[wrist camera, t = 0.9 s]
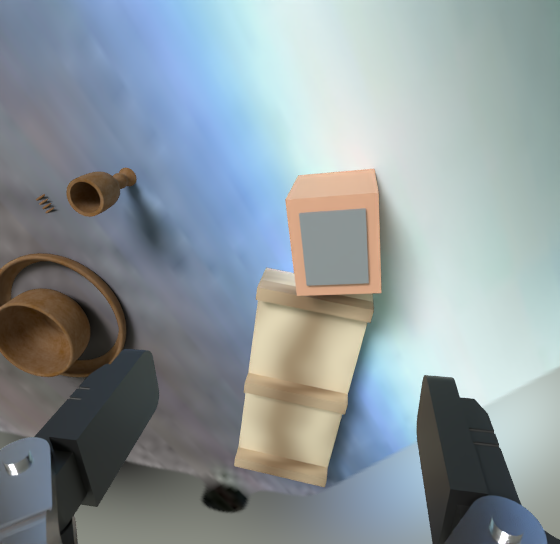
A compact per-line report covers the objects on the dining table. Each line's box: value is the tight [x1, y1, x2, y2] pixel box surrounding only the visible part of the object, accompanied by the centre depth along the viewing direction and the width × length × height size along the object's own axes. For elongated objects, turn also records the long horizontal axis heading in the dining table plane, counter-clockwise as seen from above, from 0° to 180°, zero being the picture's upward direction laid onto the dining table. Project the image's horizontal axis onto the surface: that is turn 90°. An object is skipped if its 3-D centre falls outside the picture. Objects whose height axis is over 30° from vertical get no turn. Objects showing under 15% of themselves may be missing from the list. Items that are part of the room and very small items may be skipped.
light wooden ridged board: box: [234, 268, 374, 487], centre depth 34 cm, size 8×18×3 cm, turn 172°
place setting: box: [0, 168, 136, 377], centre depth 33 cm, size 18×20×6 cm
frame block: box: [285, 169, 381, 296], centre depth 27 cm, size 5×6×6 cm
